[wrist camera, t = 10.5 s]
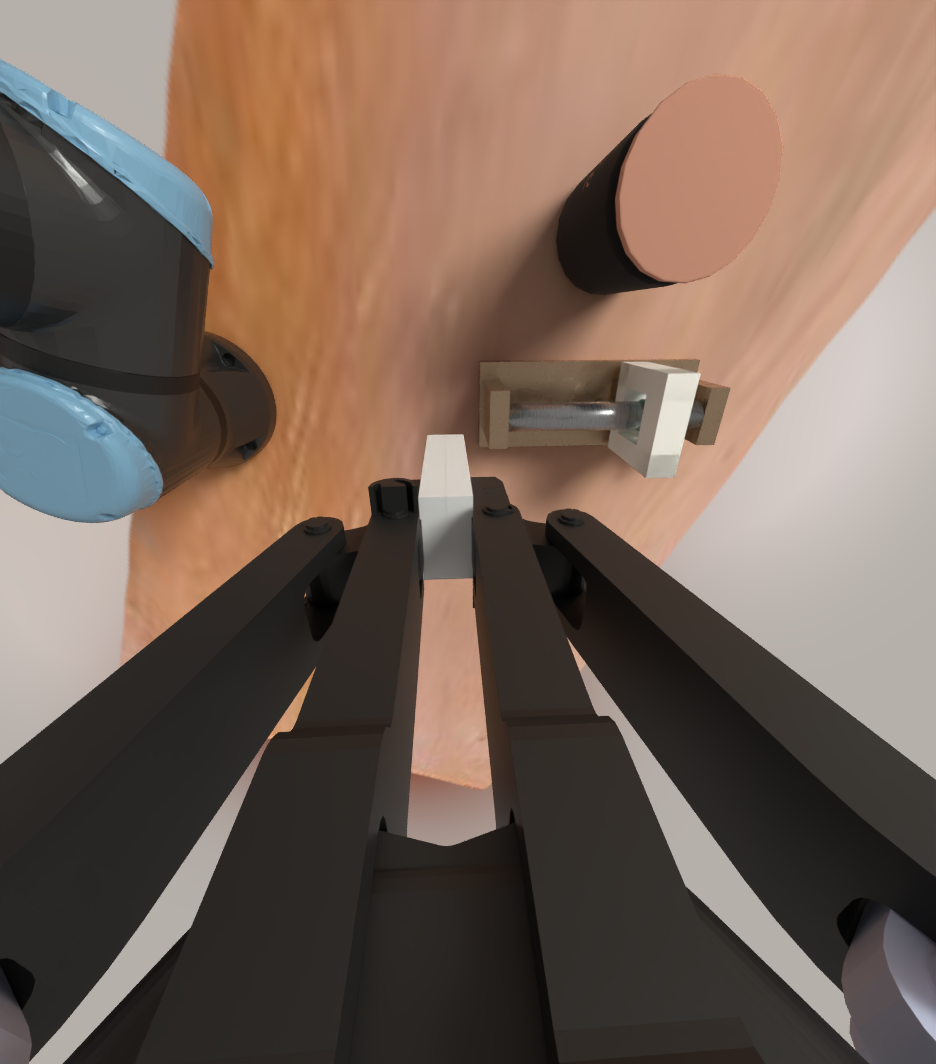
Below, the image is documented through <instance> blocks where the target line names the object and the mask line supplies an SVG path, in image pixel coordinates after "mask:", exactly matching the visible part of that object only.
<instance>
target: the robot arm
mask: <svg viewBox="0 0 936 1064" xmlns="http://www.w3.org/2000/svg"><path fill="white" fill-rule="evenodd" d="M212 226H213V216H212V210H211V207H210V205H209V203H208V201H207V199H206V197H205V195H204V193H203V192H202V191H201V190H200V189H199V187H198V186H197V185H196V184H195V183H194V182H193V181H192V180H191V179H190V178H189V177H188V176H187V175H186V174H184V173H183V172H182V171H181V170H179V169H178V168H177V167H175V166H174V165H173V164H171V163H170V162H168V161H167V160H166V159H164V158H163V157H162V156H160V155H159V154H157V153H156V152H154V151H153V150H151V149H150V148H148V147H147V146H145V145H144V144H142V143H141V142H139V141H138V140H136V139H135V138H133V137H132V136H130V135H129V134H127V133H126V132H124V131H122V130H121V129H119V128H118V127H116V126H115V125H113V124H111V123H110V122H108V121H106V120H105V119H103V118H102V117H100V116H99V115H97V114H95V113H94V112H92V111H90V110H89V109H87V108H85V107H83V106H82V105H80V104H78V103H75V102H73V101H70V100H67V99H66V98H65V97H64V96H63V95H62V94H60V93H59V92H57V91H55V90H53V89H51V88H49V87H48V86H46V85H45V84H43V83H42V82H41V81H39V80H38V79H36V78H34V77H33V76H31V75H29V74H27V73H26V72H24V71H22V70H20V69H18V68H16V67H14V66H13V65H11V64H9V63H7V62H5V61H3V60H1V59H0V489H2V490H3V491H4V492H5V493H6V494H8V495H9V496H11V497H12V498H14V499H16V500H17V501H19V502H21V503H23V504H24V505H26V506H29V507H31V508H33V509H35V510H38V511H40V512H42V513H45V514H48V515H51V516H54V517H57V518H61V519H65V520H69V521H75V522H86V523H100V522H108V521H113V520H116V519H120V518H122V517H125V516H127V515H129V514H131V513H133V512H135V511H136V510H139V509H143V508H145V507H149V506H151V505H152V504H154V503H155V502H156V501H157V500H158V499H159V498H161V497H162V496H164V495H165V494H167V493H168V492H170V491H171V490H173V489H174V488H176V487H177V486H179V485H180V484H182V483H183V482H185V481H186V480H188V479H189V478H191V477H192V476H194V475H195V474H197V473H198V472H200V471H201V470H203V469H204V468H220V467H229V466H234V465H237V464H240V463H243V462H245V461H247V460H248V459H250V458H251V457H253V456H254V455H256V454H257V453H258V452H260V451H261V450H262V449H263V448H264V447H265V446H266V445H267V443H268V442H269V440H270V438H271V436H272V434H273V432H274V428H275V424H276V404H275V399H274V395H273V392H272V390H271V387H270V385H269V383H268V381H267V379H266V377H265V375H264V374H263V372H262V371H261V369H260V368H259V367H258V365H257V364H256V363H255V362H254V361H253V360H252V359H251V357H250V356H248V355H247V354H246V353H245V352H244V351H243V350H242V349H240V348H239V347H238V346H236V345H235V344H233V343H232V342H230V341H228V340H226V339H224V338H222V337H220V336H218V335H215V334H212V333H209V332H205V331H204V329H205V318H206V306H207V295H208V284H209V273H210V269H213V268H214V260H213V257H212V255H211V248H212ZM368 489H369V497H370V505H371V512H372V515H371V518H370V521H369V523H368V525H367V526H364V527H360V528H356V529H351V530H345V531H344V526H343V523H342V521H340V520H339V519H336V518H331V517H317V518H316V517H314V518H310V519H309V520H306V521H303V522H301V523H299V524H298V525H296V526H294V527H293V528H292V529H291V530H289V531H288V532H287V533H286V534H284V535H283V536H282V537H281V538H280V539H278V540H277V541H276V542H275V543H273V544H272V545H271V546H270V547H268V548H267V549H266V550H265V551H263V552H262V553H261V554H260V555H259V556H257V557H256V558H255V559H254V560H252V561H251V562H250V563H249V564H247V565H246V566H245V567H244V568H242V569H241V570H240V571H239V572H238V573H236V574H235V575H234V576H233V577H231V578H230V579H229V580H228V581H226V582H225V583H224V584H223V585H221V586H220V587H219V588H218V589H217V590H215V591H214V592H213V593H212V594H210V595H209V596H208V597H207V598H205V599H204V600H203V601H202V602H200V603H199V604H198V605H197V606H196V607H194V608H193V609H192V610H191V611H189V612H188V613H187V614H186V615H184V616H183V617H182V618H181V619H179V620H178V621H177V622H176V623H175V624H173V625H172V626H171V627H170V628H168V629H167V630H166V631H165V632H163V633H162V634H161V635H160V636H158V637H157V638H156V639H155V640H154V641H152V642H151V643H150V644H149V645H147V646H146V647H145V648H144V649H142V650H141V651H140V652H139V653H137V654H136V655H135V656H134V657H133V658H131V659H130V660H129V661H128V662H126V663H125V664H124V665H123V666H121V667H120V668H119V669H118V670H117V671H115V672H114V673H113V674H112V675H110V676H109V677H108V678H107V679H106V680H104V681H103V682H102V683H101V684H99V685H98V686H97V687H95V688H94V689H93V690H92V691H91V692H89V693H88V694H87V695H86V696H84V697H83V698H82V699H81V700H79V701H78V702H77V703H76V704H74V705H73V706H72V707H71V708H70V709H68V710H67V711H66V712H65V713H63V714H62V715H61V716H60V717H58V718H57V719H56V720H55V721H53V722H52V723H51V724H50V725H49V726H47V727H46V728H45V729H44V730H43V731H41V732H40V733H39V734H37V735H36V736H35V737H34V738H33V739H31V740H30V741H29V742H28V743H26V744H25V745H24V746H23V747H21V748H20V749H19V750H18V751H16V752H15V753H14V754H13V755H12V756H10V757H9V758H8V759H7V760H5V761H4V762H3V763H2V764H0V1064H29V1062H30V1061H31V1060H32V1058H33V1057H34V1056H35V1055H36V1054H37V1053H38V1052H39V1051H40V1049H41V1048H42V1047H43V1046H44V1045H45V1044H46V1043H47V1042H48V1041H49V1039H51V1037H52V1036H53V1035H54V1034H55V1033H56V1032H57V1031H58V1029H60V1027H61V1026H62V1025H63V1024H64V1023H65V1021H66V1020H67V1019H68V1018H69V1017H70V1015H71V1014H72V1013H73V1012H74V1010H75V1009H76V1008H77V1007H78V1005H79V1004H80V1003H81V1002H82V1001H83V999H84V998H85V997H86V996H87V994H88V993H89V992H90V991H91V990H92V988H93V987H94V986H95V985H96V983H97V982H98V981H99V979H101V977H102V976H103V975H104V974H105V972H106V971H107V970H108V969H109V967H110V966H111V964H112V963H113V962H114V960H115V959H116V957H117V956H118V955H119V953H120V952H121V951H122V949H123V948H124V946H125V945H126V944H127V942H128V941H129V940H130V938H131V937H132V936H133V934H134V933H135V931H136V930H137V929H138V927H139V926H140V924H141V923H142V922H143V920H144V919H145V917H146V916H147V914H148V913H149V911H150V910H151V909H152V907H153V906H154V904H155V903H156V901H157V900H158V898H159V897H160V895H161V894H162V892H163V891H164V889H165V888H166V887H167V885H168V883H169V882H170V881H171V879H172V878H173V876H174V875H175V873H176V872H177V870H178V869H179V867H180V866H181V864H182V863H183V862H184V860H185V859H186V857H187V856H188V854H189V853H190V851H191V850H192V848H193V847H194V845H195V844H196V842H197V841H198V839H199V838H200V837H201V835H202V834H203V832H204V830H205V829H206V827H207V826H208V825H209V823H210V822H211V820H212V819H213V817H214V816H215V814H216V813H217V811H218V810H219V809H220V807H221V806H222V804H223V803H224V801H225V800H226V798H227V797H228V795H229V794H230V792H231V791H232V789H233V788H234V786H235V785H236V784H237V782H238V781H239V779H240V778H241V776H242V775H243V773H244V772H245V770H246V769H247V767H248V766H249V764H250V763H251V762H252V760H253V759H254V757H255V756H256V754H257V753H258V751H259V749H260V748H261V746H262V745H263V744H264V742H265V741H266V739H267V738H268V737H269V735H270V734H271V732H272V731H273V729H274V728H275V726H276V725H277V723H278V722H279V720H280V719H281V717H282V716H283V714H284V713H285V711H286V710H287V709H288V707H289V706H290V704H291V703H292V701H293V700H294V698H295V697H296V695H297V694H298V692H299V691H300V689H301V688H302V686H303V685H304V684H305V682H306V681H307V679H308V678H309V676H310V675H311V673H312V672H313V670H314V669H315V667H316V669H315V672H314V674H313V677H312V680H311V683H310V685H309V688H308V691H307V694H306V696H305V699H304V702H303V705H302V707H301V710H300V713H299V716H298V718H297V721H296V723H295V725H294V727H293V729H292V730H291V731H290V732H278V733H277V734H276V735H275V736H274V737H273V738H272V739H271V740H270V742H269V743H268V745H267V747H266V749H265V751H264V753H263V755H262V757H261V760H260V762H259V765H258V767H257V769H256V772H255V774H254V777H253V779H252V781H251V784H250V786H249V789H248V791H247V793H246V796H245V798H244V801H243V803H242V806H241V808H240V810H239V813H238V815H237V818H236V820H235V823H234V825H233V827H232V830H231V832H230V835H229V837H228V839H227V842H226V844H225V847H224V849H223V851H222V854H221V856H220V859H219V861H218V864H217V866H216V869H215V871H214V873H213V876H212V878H211V881H210V883H209V885H208V888H207V890H206V893H205V895H204V897H203V900H202V902H201V905H200V907H199V909H198V912H197V914H196V917H195V919H194V922H193V924H192V926H191V928H190V929H189V930H188V931H187V932H186V933H185V934H184V935H183V936H182V937H181V938H180V939H179V940H178V941H177V942H176V944H175V945H174V946H173V947H172V948H171V949H170V950H169V951H168V952H167V953H166V954H165V955H164V956H163V957H162V958H161V960H160V961H159V962H158V963H157V964H156V965H155V966H154V967H153V968H152V969H151V970H150V971H149V972H148V973H147V975H146V976H145V977H144V978H143V979H142V980H141V981H140V982H139V983H138V984H137V985H136V986H135V987H134V988H133V989H132V990H131V992H130V993H129V994H128V995H127V996H126V997H125V998H124V999H123V1000H122V1001H121V1002H120V1003H119V1004H118V1005H117V1007H115V1009H114V1010H113V1011H112V1012H111V1013H110V1014H109V1015H108V1016H107V1017H106V1018H105V1019H104V1021H102V1023H100V1025H99V1026H98V1027H97V1028H96V1029H95V1030H94V1031H93V1032H92V1033H91V1034H90V1035H89V1036H88V1037H87V1038H86V1040H85V1041H84V1042H83V1043H82V1044H81V1045H80V1046H79V1047H78V1048H77V1049H76V1050H75V1051H74V1052H73V1053H72V1055H71V1056H70V1057H69V1058H68V1059H67V1060H66V1061H65V1062H64V1063H63V1064H936V780H935V779H934V778H933V777H931V776H930V775H929V774H927V773H926V772H925V771H923V770H922V769H921V768H920V767H918V766H917V765H916V764H914V763H913V762H912V761H910V760H909V759H908V758H907V757H905V756H904V755H903V754H901V753H900V752H899V751H897V750H896V749H895V748H893V747H892V746H891V745H890V744H888V743H887V742H886V741H884V740H883V739H882V738H880V737H879V736H878V735H876V734H875V733H874V732H873V731H871V730H870V729H869V728H867V727H866V726H865V725H864V724H862V723H861V722H860V721H858V720H857V719H856V718H854V717H853V716H852V715H851V714H849V713H848V712H847V711H845V710H844V709H843V708H841V707H840V706H839V705H838V704H836V703H835V702H834V701H832V700H831V699H830V698H828V697H827V696H826V695H825V694H823V693H822V692H820V691H819V690H818V689H817V688H815V687H814V686H813V685H811V684H810V683H809V682H808V681H806V680H805V679H803V678H802V677H801V676H800V675H798V674H797V673H796V672H795V671H793V670H792V669H791V668H789V667H788V666H787V665H785V664H784V663H783V662H782V661H780V660H779V659H778V658H776V657H775V656H774V655H772V654H771V653H770V652H768V651H767V650H766V649H765V648H763V647H762V646H761V645H759V644H758V643H757V642H755V641H754V640H753V639H752V638H750V637H749V636H748V635H746V634H745V633H743V632H742V631H741V630H740V629H739V628H737V627H736V626H735V625H733V624H732V623H731V622H729V621H728V620H727V619H726V618H724V617H723V616H722V615H720V614H719V613H718V612H716V611H715V610H714V609H712V608H711V607H710V606H708V605H707V604H706V603H705V602H703V601H702V600H701V599H699V598H698V597H697V596H696V595H694V594H693V593H692V592H690V591H689V590H688V589H686V588H685V587H684V586H682V585H681V584H680V583H679V582H677V581H676V580H675V579H673V578H672V577H671V576H669V575H668V574H667V573H666V572H664V571H663V570H662V569H660V568H659V567H658V566H657V565H655V564H654V563H653V562H651V561H650V560H649V559H647V558H646V557H645V556H643V555H642V554H641V553H640V552H638V551H637V550H636V549H634V548H633V547H632V546H630V545H629V544H628V543H627V542H625V541H624V540H623V539H621V538H620V537H619V536H617V535H616V534H615V533H614V532H612V531H611V530H610V529H608V528H607V527H606V526H604V525H603V524H602V523H601V522H599V521H598V520H597V519H595V518H594V517H593V516H591V515H589V514H587V513H585V512H581V511H579V510H576V509H573V510H572V509H565V510H557V511H553V512H551V513H550V514H548V516H547V520H546V524H545V523H537V522H531V521H527V520H524V519H522V517H521V514H520V511H519V510H518V508H517V507H516V506H514V505H512V504H510V502H509V499H508V496H507V494H506V491H505V489H504V485H503V482H502V481H500V480H499V479H497V478H496V477H470V473H469V467H468V460H467V454H466V448H465V441H464V435H463V434H456V435H427V442H426V449H425V456H424V462H423V469H422V476H421V480H409V479H404V478H389V479H383V480H379V481H376V482H374V483H372V484H371V485H370V486H369V487H368ZM423 573H424V580H432V579H462V578H473V608H475V614H476V624H477V634H478V644H479V654H480V665H481V675H482V685H483V695H484V705H485V716H486V726H487V736H488V746H489V757H490V767H491V777H492V787H493V797H494V807H495V818H496V830H494V831H491V832H488V833H485V834H483V835H480V836H478V837H475V838H472V839H469V840H467V841H464V842H462V843H459V844H456V845H452V846H440V845H436V844H432V843H428V842H424V841H420V840H416V839H412V838H408V837H407V818H408V805H409V804H408V803H409V790H410V776H411V763H412V749H413V736H414V722H415V708H416V694H417V680H418V667H419V653H420V639H421V625H422V611H423V597H424V580H423ZM305 593H306V596H305V598H304V595H305ZM566 636H567V637H566ZM567 638H568V639H569V641H570V642H571V643H572V645H573V646H574V647H575V649H576V650H577V651H578V653H579V654H580V656H581V657H582V658H583V660H584V661H585V662H586V664H587V665H588V667H589V668H590V669H591V671H592V672H593V673H594V675H595V676H596V677H597V679H598V680H599V682H600V683H601V684H602V686H603V687H604V688H605V690H606V691H607V693H608V694H609V695H610V697H611V698H612V699H613V701H614V702H615V703H616V705H617V706H618V707H619V709H620V710H621V711H622V713H623V714H624V716H625V717H626V718H627V720H628V721H629V723H630V724H631V725H632V727H633V728H634V730H635V731H636V732H637V734H638V735H639V736H640V738H641V739H642V740H643V742H644V743H645V745H646V746H647V747H648V749H649V750H650V751H651V753H652V754H653V756H654V757H655V758H656V760H657V761H658V762H659V763H660V765H661V766H662V768H663V769H664V770H665V772H666V773H667V774H668V776H669V777H670V779H671V780H672V781H673V783H674V784H675V785H676V787H677V788H678V790H679V791H680V792H681V794H682V795H683V797H684V798H685V799H686V801H687V802H688V803H689V805H690V806H691V808H692V809H693V810H694V812H695V813H696V814H697V816H698V817H699V818H700V820H701V821H702V823H703V824H704V825H705V827H706V828H707V829H708V831H709V832H710V833H711V834H712V836H713V838H714V839H715V840H716V842H717V843H718V844H719V846H720V847H721V849H722V850H723V851H724V853H725V854H726V855H727V857H728V858H729V860H730V861H731V862H732V864H733V865H734V866H735V868H736V869H737V870H738V872H739V873H740V875H741V876H742V877H743V879H744V880H745V881H746V883H747V884H748V885H749V886H750V888H751V889H752V890H753V891H754V893H755V894H756V895H757V896H758V898H759V899H760V900H761V902H762V903H763V904H764V906H765V907H766V908H767V909H768V911H769V912H770V913H771V914H772V916H773V917H774V918H775V919H776V921H777V922H778V923H779V924H780V925H781V926H782V928H784V930H785V931H786V932H787V933H788V934H789V935H790V937H791V938H792V939H793V940H794V941H795V942H796V943H797V945H799V947H800V948H801V949H802V950H803V951H804V952H805V953H806V955H807V956H808V957H809V958H810V959H811V960H812V961H813V963H815V965H816V966H817V967H818V968H819V969H820V970H821V971H822V972H823V973H824V974H825V975H826V976H827V977H828V978H829V979H830V980H831V981H832V982H833V983H834V984H835V985H836V986H837V987H838V988H839V989H840V990H841V991H842V992H843V993H844V998H845V1003H846V1005H847V1008H848V1010H849V1013H850V1015H851V1018H850V1035H851V1038H852V1041H853V1044H854V1047H855V1049H856V1050H855V1049H854V1048H853V1047H852V1046H850V1044H849V1043H848V1042H846V1041H845V1040H844V1039H843V1038H842V1037H841V1036H840V1035H839V1034H838V1033H837V1032H836V1031H835V1030H834V1029H833V1028H832V1027H831V1026H830V1025H829V1024H828V1023H827V1022H826V1021H825V1020H824V1019H823V1018H821V1016H820V1015H818V1013H817V1012H816V1011H815V1010H813V1009H812V1008H811V1007H810V1006H809V1005H808V1004H807V1003H806V1002H805V1001H804V1000H803V999H802V998H801V997H800V996H799V995H798V994H797V993H796V992H795V991H794V990H793V989H792V988H791V987H790V986H789V985H788V984H787V983H786V982H785V981H784V980H783V979H782V978H780V977H779V976H778V975H777V974H776V973H775V972H774V971H773V970H772V969H771V968H770V967H769V966H768V965H767V964H766V963H765V962H764V961H763V960H762V959H761V958H760V957H759V956H758V955H757V954H756V953H755V952H754V951H753V950H752V949H751V948H750V947H749V946H748V945H747V944H745V943H744V942H743V941H742V940H741V939H740V938H739V937H738V936H737V935H736V934H735V933H734V932H733V931H732V930H731V929H730V928H729V927H728V926H727V925H726V924H725V923H724V922H723V921H722V920H721V919H720V918H719V917H718V916H717V915H716V914H714V912H712V911H711V910H710V909H709V908H708V907H707V906H706V905H705V904H704V903H703V902H702V901H701V900H700V899H699V898H698V897H697V896H696V895H695V894H694V893H692V892H691V891H690V890H689V889H688V888H687V887H686V886H685V884H684V882H683V879H682V877H681V875H680V872H679V870H678V868H677V866H676V863H675V860H674V858H673V856H672V853H671V851H670V849H669V846H668V844H667V841H666V839H665V837H664V834H663V832H662V830H661V827H660V825H659V822H658V820H657V818H656V815H655V813H654V811H653V808H652V805H651V803H650V801H649V798H648V796H647V794H646V791H645V789H644V786H643V784H642V782H641V779H640V777H639V775H638V772H637V770H636V768H635V765H634V763H633V760H632V758H631V756H630V753H629V751H628V748H627V746H626V744H625V741H624V739H623V736H622V734H621V732H620V731H619V729H618V727H617V725H616V723H615V722H614V721H613V720H612V719H611V718H610V717H609V716H598V715H597V714H596V713H595V710H594V708H593V706H592V703H591V701H590V698H589V695H588V693H587V691H586V687H585V685H584V682H583V679H582V677H581V674H580V671H579V669H578V666H577V663H576V661H575V658H574V655H573V653H572V650H571V647H570V645H569V642H568V639H567Z"/></svg>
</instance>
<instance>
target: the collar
mask: <svg viewBox="0 0 936 1064" xmlns="http://www.w3.org/2000/svg"><path fill="white" fill-rule="evenodd" d="M700 374H701V373H697V372H692V371H688V370H683V369H679V368H674V367H670V366H665V365H661V364H656V363H652V362H621V369H620V375H619V381H618V387H617V393H616V399H615V401H639V400H641V399H646V400H645V405H644V410H643V415H642V420H641V425H640V431H637V430H610V436H609V442H608V448H609V449H610V450H612V451H613V452H614V453H615V454H617V455H618V456H619V457H620V458H622V459H623V460H624V461H625V462H627V463H628V464H629V465H630V466H632V467H633V468H634V469H635V470H637V471H638V472H639V473H640V474H642V475H643V476H644V477H645V478H668V477H675V474H676V470H677V466H678V462H679V458H680V454H681V450H682V446H683V442H684V438H685V434H686V430H687V426H688V422H689V418H690V414H691V410H692V406H693V402H694V398H695V394H696V390H697V386H698V382H699V378H700Z"/></svg>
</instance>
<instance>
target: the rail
mask: <svg viewBox="0 0 936 1064" xmlns="http://www.w3.org/2000/svg"><path fill="white" fill-rule="evenodd" d="M621 362H652V363H656V364H661V365H665V366H670V367H674V368H679V369H683V370H688V371H692V372H697V370H698V366H699V362H700V360H696V359H679V360H580V361H481V362H479V447H489V449H508V447H529V446H582V445H608V442H609V436H610V430H637V431H640V425H641V420H642V415H643V410H644V405H645V400H646V399H641V400H639V401H615V399H616V393H617V387H618V381H619V375H620V369H621ZM729 391H730V388H729V387H725V386H721V385H717V384H713V383H709V382H705V381H701V380H699V382H698V386H697V390H696V394H695V398H694V402H693V406H692V410H691V414H690V418H689V422H688V426H687V430H686V434H685V438H684V439H686V440H687V441H689V442H691V443H693V444H695V445H714V443H715V440H716V436H717V433H718V429H719V426H720V422H721V419H722V416H723V412H724V409H725V405H726V402H727V398H728V395H729Z"/></svg>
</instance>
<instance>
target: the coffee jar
mask: <svg viewBox="0 0 936 1064" xmlns="http://www.w3.org/2000/svg"><path fill="white" fill-rule="evenodd" d="M782 151H783V145H782V139H781V133H780V128H779V122H778V117H777V115H776V113H775V111H774V110H773V108H772V106H771V104H770V103H769V101H768V99H767V97H766V96H765V94H764V92H763V91H761V90H760V89H758V88H757V87H755V86H754V85H753V84H751V83H750V82H748V81H747V80H746V79H744V78H743V77H737V76H729V75H721V74H713V75H710V76H707V77H704V78H701V79H697V80H694V81H691V82H688V83H686V84H685V85H683V86H682V87H681V88H679V89H678V90H677V91H675V92H674V93H673V94H671V95H670V96H669V97H667V98H666V99H665V100H663V101H662V102H661V103H660V104H659V105H658V106H657V108H656V109H655V110H654V112H653V113H652V114H650V115H649V116H648V117H646V118H645V119H644V120H642V121H641V122H640V123H639V124H638V125H637V126H636V127H635V128H634V129H633V130H632V131H631V132H630V133H629V134H628V135H627V136H626V137H625V138H624V139H623V140H622V141H621V142H620V143H619V144H618V145H617V146H616V147H615V148H614V149H613V150H612V151H611V152H610V153H609V154H608V155H607V156H606V157H605V158H604V159H603V160H602V161H601V162H600V163H599V164H598V165H597V166H596V167H595V168H594V169H593V170H592V171H591V172H590V173H589V174H588V175H587V176H586V177H585V178H584V179H583V180H582V181H581V182H580V183H579V184H578V186H577V187H576V188H575V190H574V191H573V193H572V194H571V195H570V197H569V198H568V199H567V201H566V204H565V206H564V209H563V211H562V214H561V216H560V219H559V225H558V233H557V248H558V256H559V260H560V263H561V265H562V267H563V270H564V272H565V274H566V276H567V277H568V278H569V279H570V280H571V281H572V282H573V283H574V284H575V286H576V287H578V288H580V289H582V290H584V291H586V292H588V293H591V294H603V295H606V294H613V293H620V292H628V291H635V290H642V289H649V288H657V287H664V286H669V285H673V284H676V283H688V282H692V281H695V280H699V279H702V278H706V277H709V276H710V275H712V274H714V273H715V272H717V271H718V270H720V269H721V268H723V267H724V266H726V265H728V264H729V263H731V262H732V261H733V260H734V259H735V258H736V257H737V256H738V255H739V254H740V253H741V251H742V250H743V249H744V248H745V247H746V246H747V245H748V244H749V243H750V242H751V241H752V240H753V238H754V237H755V235H756V233H757V231H758V230H759V228H760V226H761V225H762V223H763V221H764V220H765V218H766V216H767V215H768V213H769V211H770V208H771V205H772V202H773V199H774V196H775V193H776V190H777V187H778V184H779V181H780V173H781V162H782Z"/></svg>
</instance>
